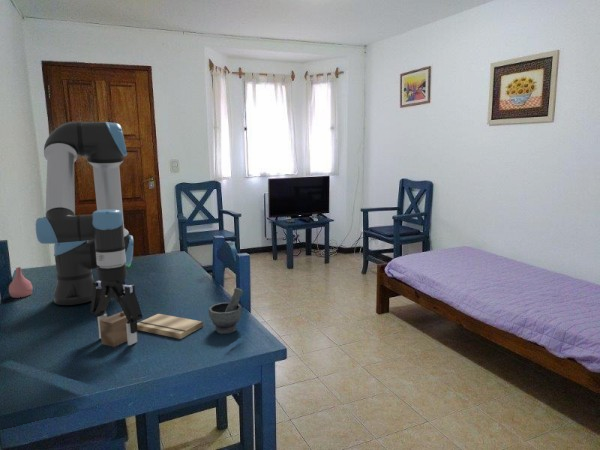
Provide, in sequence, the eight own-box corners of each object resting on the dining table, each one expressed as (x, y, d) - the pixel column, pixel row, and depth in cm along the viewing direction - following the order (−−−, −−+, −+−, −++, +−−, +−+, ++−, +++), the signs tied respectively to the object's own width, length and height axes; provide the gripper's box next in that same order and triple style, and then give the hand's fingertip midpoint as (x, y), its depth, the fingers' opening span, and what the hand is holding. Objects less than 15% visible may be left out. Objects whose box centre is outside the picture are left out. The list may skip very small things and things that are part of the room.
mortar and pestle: (219, 338, 121) (217, 298, 119) (204, 329, 128) (201, 291, 126) (252, 328, 128) (250, 290, 126) (235, 319, 135) (234, 283, 133)
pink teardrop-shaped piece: (18, 302, 157) (15, 271, 155) (5, 300, 160) (1, 269, 158) (38, 296, 164) (34, 266, 162) (24, 294, 167) (21, 264, 165)
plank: (134, 329, 129) (134, 323, 129) (158, 318, 138) (158, 313, 137) (180, 338, 121) (180, 333, 121) (202, 326, 130) (202, 320, 130)
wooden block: (101, 344, 119) (99, 317, 118) (121, 334, 125) (119, 309, 124) (114, 347, 117) (112, 320, 116) (134, 337, 123) (132, 312, 122)
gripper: (71, 264, 119) (79, 338, 122) (131, 272, 109) (137, 352, 112) (94, 258, 126) (101, 329, 129) (152, 265, 116) (158, 341, 119)
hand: (118, 340), depth 121 cm, fingers open, 11 cm apart
